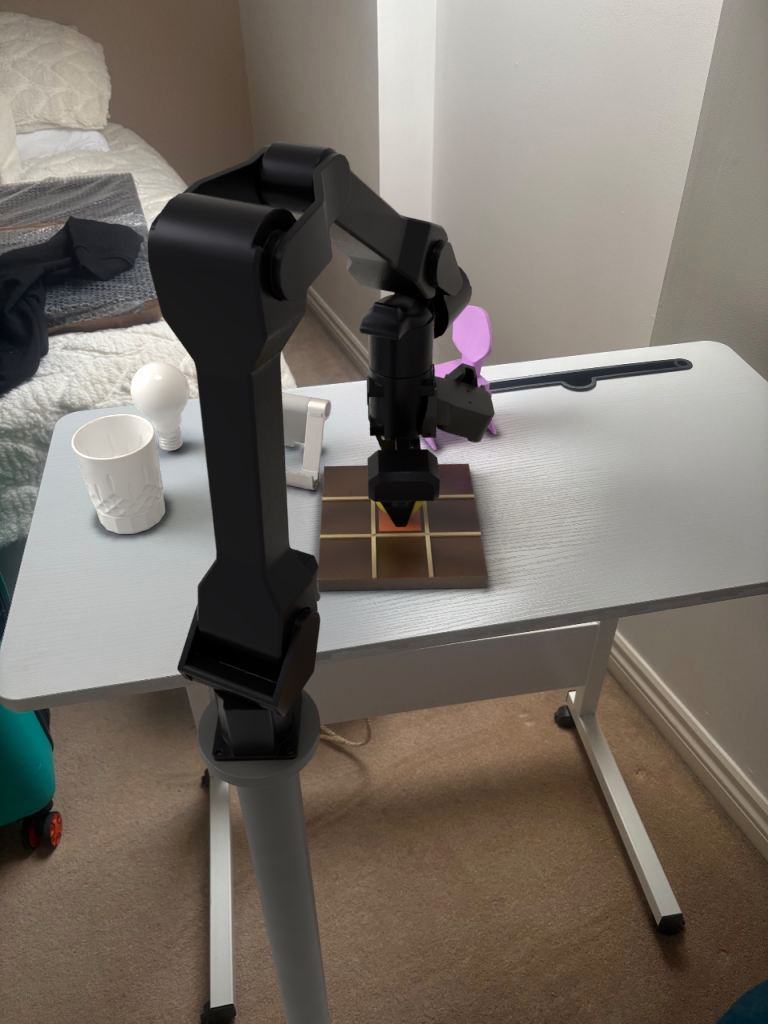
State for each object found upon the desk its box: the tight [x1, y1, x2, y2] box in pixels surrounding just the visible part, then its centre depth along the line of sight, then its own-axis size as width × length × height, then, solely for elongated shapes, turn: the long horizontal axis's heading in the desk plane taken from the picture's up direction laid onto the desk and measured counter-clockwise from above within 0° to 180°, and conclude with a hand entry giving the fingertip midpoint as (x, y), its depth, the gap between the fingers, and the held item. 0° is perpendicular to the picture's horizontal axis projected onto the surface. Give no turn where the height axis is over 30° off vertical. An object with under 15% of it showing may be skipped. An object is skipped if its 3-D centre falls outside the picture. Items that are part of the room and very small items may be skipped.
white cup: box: [70, 413, 166, 535], centre depth 84 cm, size 8×8×10 cm
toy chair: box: [423, 304, 498, 451], centre depth 95 cm, size 8×9×15 cm
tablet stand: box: [282, 391, 332, 491], centre depth 91 cm, size 9×8×8 cm
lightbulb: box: [129, 360, 191, 452], centre depth 93 cm, size 6×6×11 cm
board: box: [318, 463, 489, 592], centre depth 85 cm, size 18×16×2 cm
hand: (399, 500), depth 83 cm, fingers open, 8 cm apart
